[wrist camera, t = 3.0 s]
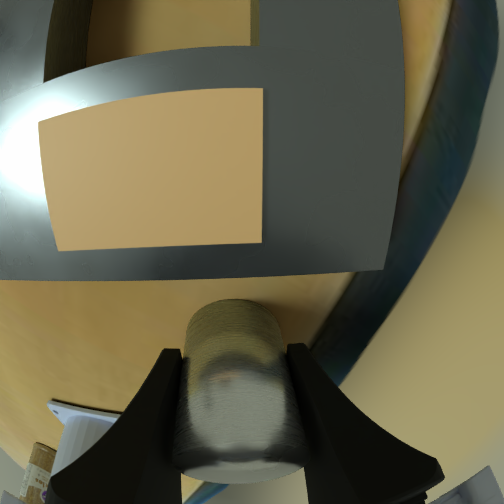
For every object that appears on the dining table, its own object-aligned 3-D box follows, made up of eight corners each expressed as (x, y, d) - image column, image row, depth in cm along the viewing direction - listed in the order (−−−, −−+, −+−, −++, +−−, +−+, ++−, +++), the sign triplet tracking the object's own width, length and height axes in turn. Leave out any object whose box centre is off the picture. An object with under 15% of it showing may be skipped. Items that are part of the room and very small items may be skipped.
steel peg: (276, 364, 13) (299, 477, 7) (192, 367, 12) (186, 483, 7) (282, 296, 11) (322, 434, 5) (180, 300, 11) (155, 441, 5)
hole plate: (351, 236, 10) (386, 272, 7) (32, 249, 9) (-4, 282, 7) (347, -65, 4) (374, -94, 2) (33, -27, 3) (1, -42, 1)
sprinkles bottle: (71, 459, 20) (56, 545, 8) (57, 459, 21) (42, 536, 9) (40, 440, 18) (19, 529, 6) (29, 441, 19) (9, 520, 7)
